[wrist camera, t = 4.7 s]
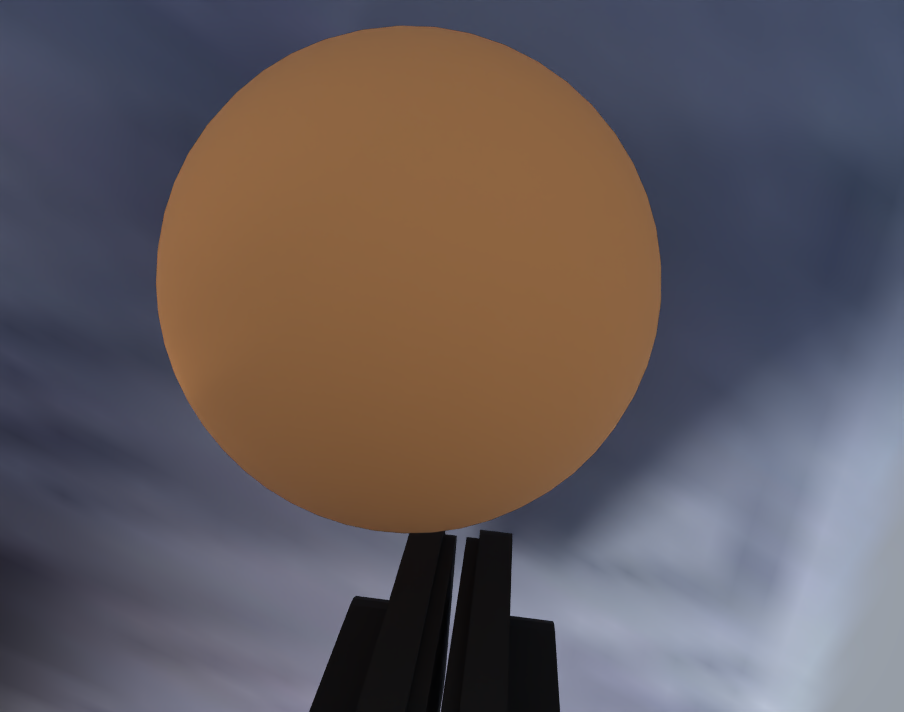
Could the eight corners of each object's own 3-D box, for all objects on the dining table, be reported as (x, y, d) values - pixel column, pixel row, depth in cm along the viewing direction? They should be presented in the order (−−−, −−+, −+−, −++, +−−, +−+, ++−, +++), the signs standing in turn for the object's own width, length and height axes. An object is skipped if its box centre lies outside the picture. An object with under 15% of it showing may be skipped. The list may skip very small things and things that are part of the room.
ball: (414, 478, 13) (334, 748, 7) (196, 225, 12) (-115, 291, 6) (690, 287, 11) (879, 426, 5) (469, -23, 10) (413, -261, 4)
